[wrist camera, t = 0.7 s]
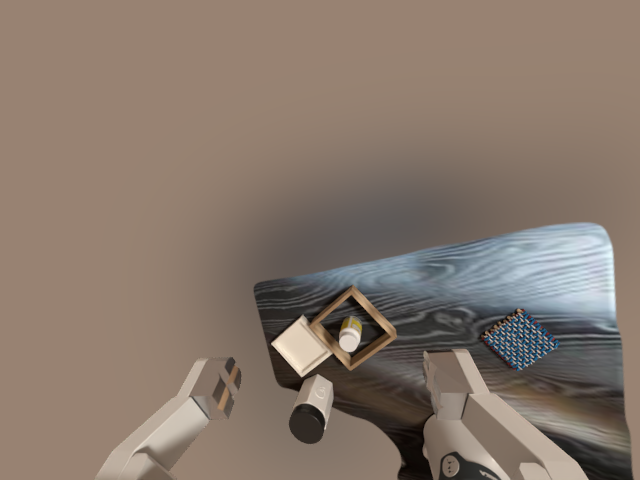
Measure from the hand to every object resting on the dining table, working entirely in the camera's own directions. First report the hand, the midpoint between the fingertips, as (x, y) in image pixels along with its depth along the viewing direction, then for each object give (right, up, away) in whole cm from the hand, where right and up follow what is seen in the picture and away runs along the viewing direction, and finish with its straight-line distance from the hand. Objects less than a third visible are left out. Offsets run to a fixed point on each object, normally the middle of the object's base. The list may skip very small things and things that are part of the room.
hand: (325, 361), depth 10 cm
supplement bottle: (+8, -16, +50) cm, 53 cm away
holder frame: (+8, -16, +50) cm, 53 cm away
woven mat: (+42, -16, +42) cm, 61 cm away
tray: (-5, -23, +54) cm, 59 cm away
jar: (0, -35, +55) cm, 66 cm away
